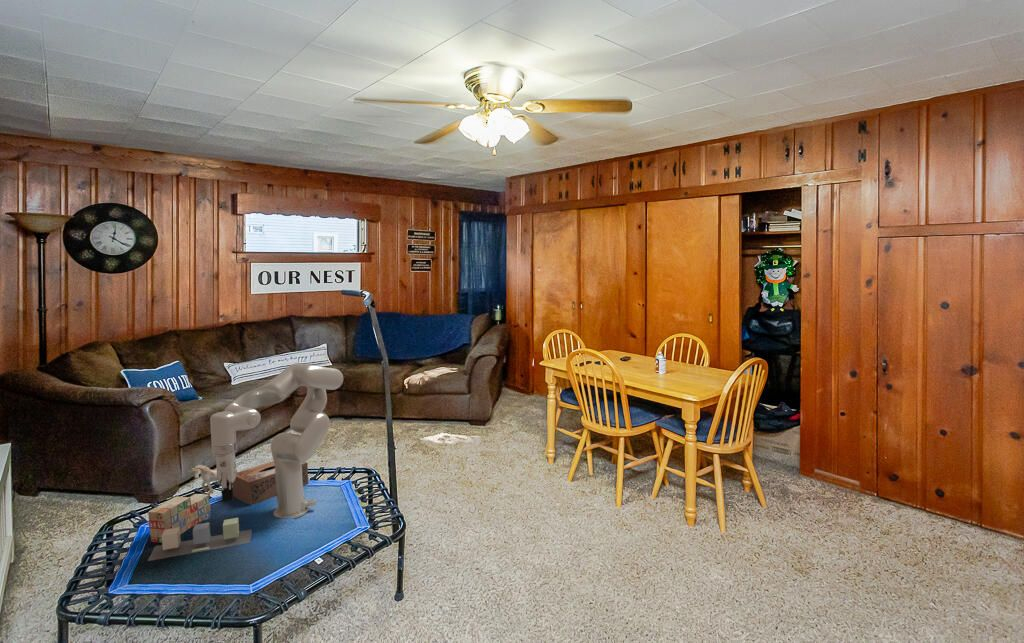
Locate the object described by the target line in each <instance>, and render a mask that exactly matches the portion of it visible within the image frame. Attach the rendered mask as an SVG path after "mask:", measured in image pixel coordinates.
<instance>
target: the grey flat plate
mask: <svg viewBox="0 0 1024 643" xmlns="http://www.w3.org/2000/svg"><path fill="white" fill-rule="evenodd" d="M252 532H253V529H247V530H242V531H240V530H239V535H238V537H234V538H229V539H224V536H223V534H218V535H213V536H212V535H210V539H209V542H206V543H200V544H195V545H194V541H193V539H190V540H183V541H182V540H181V542H180V544H179V547H178V548H172V549H166V550H163V546H162V544H161V545H160V544H159V545H155V546H154V548H153V549H152V551H151V554H150V555H149V557H148V559H147V562H150V561H157V560H162V559H167V558H172V557H173V558H174V557H179V556H184V555H189V554H195V553H200V552H206V551H212V550H218V549H222V548H229V547H234V546H239V545H245V544H246V545H247V544H250V543H251V538H252Z"/></svg>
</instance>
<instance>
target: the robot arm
mask: <svg viewBox="0 0 1024 643" xmlns="http://www.w3.org/2000/svg"><path fill="white" fill-rule="evenodd" d="M343 382H344V374H343V373H342V372H341V370H339V369H338V368H332V367H325V366H321V365H315V364H310V363H309V364H307V363H297V362H296V363H292V364H290V365H289V366H287V367H286V368H285V369H284V370H282V371H281V372H280V373H278V374H277V375H276V376H275V377H273V378H272V379H271V380H270V381H269V382H267V383H265V384H263V385H261V386H258V387H256V388H254V389H252V390H249V391H247V392H245V393H244V394H241V395H239V396H238V397H236V398H235V399H234V400H233V401H232V402H231V403H229V404H228V405H227V406H226V407H225V409H224V410H223V411H219V412H216V413H213V414H211V416H210V418H209V420H210V421H209V422H210V437H211V439H210V441H211V452H212V456H214V457H215V458H216V459H215V460H216V462H215V463H216V470H217V479H218V480H217V483H218V485H221V501H222V502H228V501H233V499H234V497H233V487H232V483H233V482H234V481H235V478H236V475H237V472H238V471H237V462H236V454H235V453H237V451H238V446H237V445H238V444H237V432H241V431H249V430H252V429H254V428H256V427H257V426H259V424H260V423H261V418H262V417H261V414H260V412H259V411H258V410H257V409H258V408H261V407H263V406H264V407H265V406H269V405H270V406H271V405H275V404H278V403H281V402H283V401H285V399H286V398H288V397H289V396H290V395H291V394H292V393H293V392H294V391H296V390H297V389H298V388H299V387H306V390H307V391H306V395H305V398H304V399H303V401H302V402H301V404H300V406H299V407H298V409H297V410H296V411H295V413H294V415H292V418H291V420H290V422H289V426H290V429H291V430H292V431H293V432H295V433H293V432H292V433H291V432H281V433H278V434H277V435H275V436H274V437H273V439H272V440H271V443H270V452H271V456H272V459H273V460H272V461H274V465H275V476H276V492H277V496H276V504H277V506H276V507H277V508H276V509H275V510H273V516H274V517H276V518H281V519H288V518H293V519H297V518H300V517H303V516H304V515H306V514H307V513H308V511H309V507H315V506H317V500H316V499H315V500H313V498H309V499H305V496H304V486H303V480H302V466H301V462H308V461H309V460H310V459H311V458H312V457H313V456H314V455H315V453H316V452H317V450H318V448H319V447H320V445H321V444H322V442H323V440H324V439H325V437H326V435H327V434H328V432H329V429H330V426H331V424H330V423H331V422H330V418H329V416H328V414H326V413H324V412H323V411H324V409H325V408H326V406H327V403H328V396H327V390H330V391H331V390H332V391H333V390H337V389H339V388H340V387H341V386H342V385H343ZM296 433H297V434H296ZM299 434H300V435H299Z"/></svg>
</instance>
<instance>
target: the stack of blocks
mask: <svg viewBox="0 0 1024 643" xmlns="http://www.w3.org/2000/svg"><path fill="white" fill-rule="evenodd" d="M210 501H211V500H210V495H207V494H205V493H204V494H203V493H202V494H201V493H194V494H192V495H190V496H188V497H187V496H176V495H175V496H174V497H173V498H171V499H168V500H167V501H165V502H163V503H162V504H159V505H157V506H155V507H154V508H152V509H150V510H149V511H148V514H147V515H148V526H149V534H150V537H149V538H150V542H151V543H161V544H162V534H163V532H164V530H166V529H172V528H178V527H180V535H182V534H184V533H185V532H186V531H189V529H191V528H192V527H193V528H194V526H195V525H196V524H200V523H201V522H202V521H203V522H204V521H208V520H210V519H211V518H212V513H211V502H210Z"/></svg>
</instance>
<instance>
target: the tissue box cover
mask: <svg viewBox="0 0 1024 643" xmlns="http://www.w3.org/2000/svg"><path fill="white" fill-rule="evenodd" d="M301 466H302V480H303V487H304V486H307V485H309V470H308V461H305V462H301ZM232 487H233V498H235V499H237V500H239V501H241V502H242V503H245V504H246V505H248V504H249V506H250V505H251V506H254V505H256V504H259V503H261V502H264V501H267V500H269V499H273V498H275V497H277V492H276V476H275V465H274V460H272V461H269V462H265V463H263V464H262V463H261V464H260V465H256V466H252V467H250V468H247V469H244V470H239V471H237V475H236V478H235V481H234V482H233V483H232Z"/></svg>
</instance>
